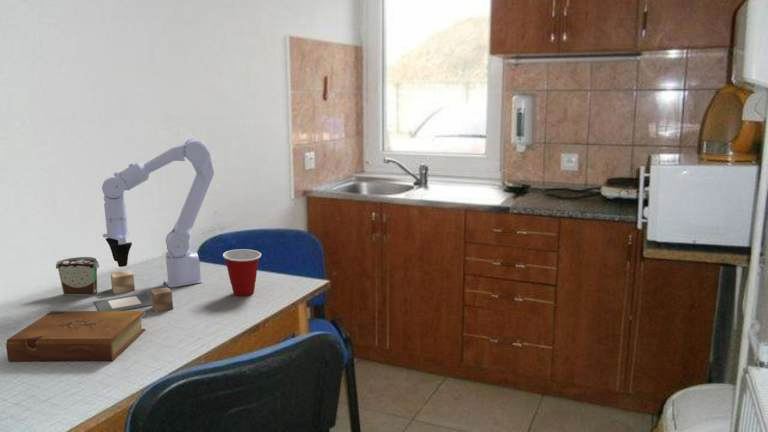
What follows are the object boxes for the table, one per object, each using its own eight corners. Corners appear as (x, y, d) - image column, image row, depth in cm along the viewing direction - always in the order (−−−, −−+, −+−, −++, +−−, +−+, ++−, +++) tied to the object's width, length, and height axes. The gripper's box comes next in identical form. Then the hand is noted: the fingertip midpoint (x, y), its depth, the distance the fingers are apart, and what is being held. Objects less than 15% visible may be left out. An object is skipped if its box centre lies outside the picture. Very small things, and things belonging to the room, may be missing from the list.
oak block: (131, 286, 194) (129, 270, 193) (134, 290, 189) (133, 274, 188) (112, 289, 191) (110, 273, 190) (115, 293, 186) (113, 277, 185)
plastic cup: (250, 301, 178) (247, 259, 175) (217, 296, 182) (214, 256, 179) (270, 289, 188) (268, 250, 185) (239, 286, 192) (237, 247, 189)
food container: (110, 289, 191) (106, 256, 189) (99, 295, 185) (95, 262, 183) (71, 288, 192) (67, 256, 190) (58, 294, 186) (54, 261, 184)
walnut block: (169, 304, 176) (167, 287, 175) (173, 309, 172) (171, 291, 171) (152, 307, 174) (150, 290, 173) (155, 312, 170) (154, 294, 169)
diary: (8, 365, 140) (5, 340, 138) (54, 333, 158) (51, 311, 157) (112, 363, 139) (109, 338, 138) (146, 332, 157) (143, 309, 156)
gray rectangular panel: (146, 293, 186) (146, 292, 186) (155, 304, 176) (155, 303, 176) (94, 302, 179) (94, 300, 179) (100, 314, 169) (100, 313, 169)
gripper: (97, 215, 190) (102, 260, 192) (105, 224, 178) (109, 271, 180) (122, 213, 193) (126, 256, 196) (132, 221, 181) (136, 267, 184)
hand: (120, 263), depth 188 cm, fingers open, 7 cm apart
